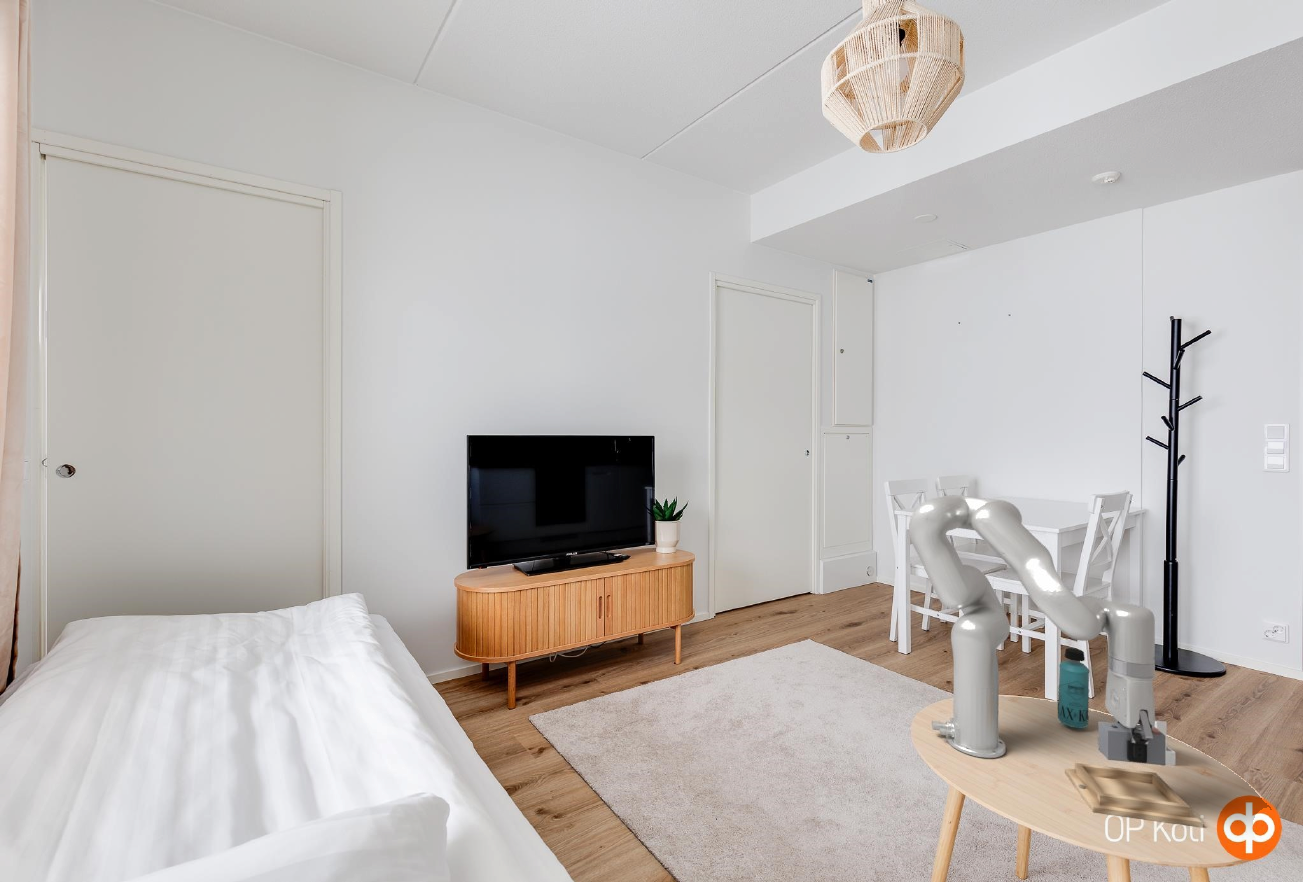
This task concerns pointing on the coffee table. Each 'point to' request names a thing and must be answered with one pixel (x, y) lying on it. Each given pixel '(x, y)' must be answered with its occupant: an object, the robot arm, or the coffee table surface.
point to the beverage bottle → (1073, 690)
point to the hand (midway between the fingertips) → (1130, 754)
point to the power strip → (1115, 743)
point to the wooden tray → (1130, 794)
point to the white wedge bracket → (1168, 752)
